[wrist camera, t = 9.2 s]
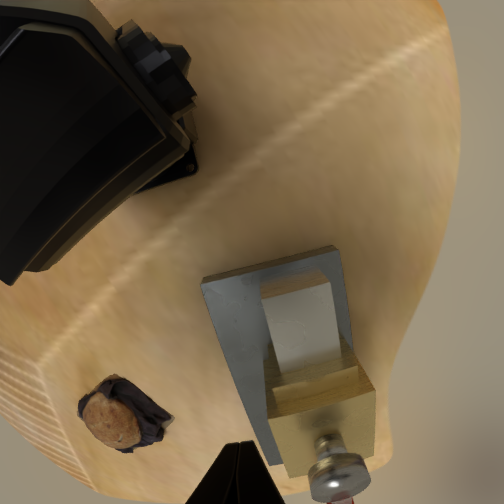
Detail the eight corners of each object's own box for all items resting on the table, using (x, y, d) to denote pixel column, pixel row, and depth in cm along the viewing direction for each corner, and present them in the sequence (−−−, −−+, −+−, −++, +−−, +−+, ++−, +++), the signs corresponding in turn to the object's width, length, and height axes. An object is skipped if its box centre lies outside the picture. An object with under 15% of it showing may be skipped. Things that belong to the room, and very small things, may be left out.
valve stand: (268, 455, 24) (273, 529, 14) (203, 277, 19) (169, 348, 10) (354, 434, 23) (380, 503, 14) (332, 245, 19) (396, 292, 10)
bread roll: (132, 450, 25) (123, 472, 21) (72, 406, 23) (58, 426, 20) (185, 417, 23) (178, 445, 19) (113, 362, 22) (96, 386, 18)
